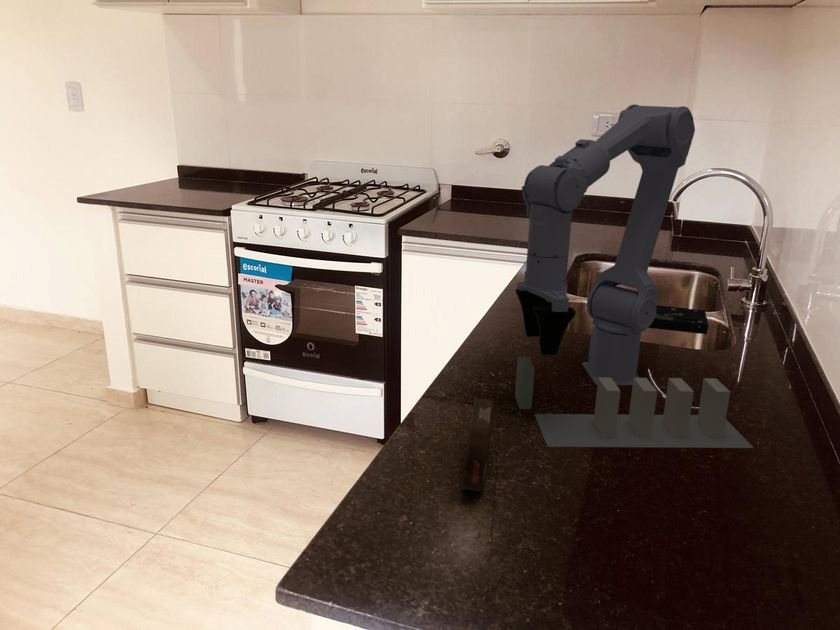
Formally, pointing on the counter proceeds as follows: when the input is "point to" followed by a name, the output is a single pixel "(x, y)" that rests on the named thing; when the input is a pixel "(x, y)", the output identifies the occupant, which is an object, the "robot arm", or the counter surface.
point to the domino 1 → (524, 382)
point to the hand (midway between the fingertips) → (540, 344)
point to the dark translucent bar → (478, 445)
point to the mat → (630, 434)
